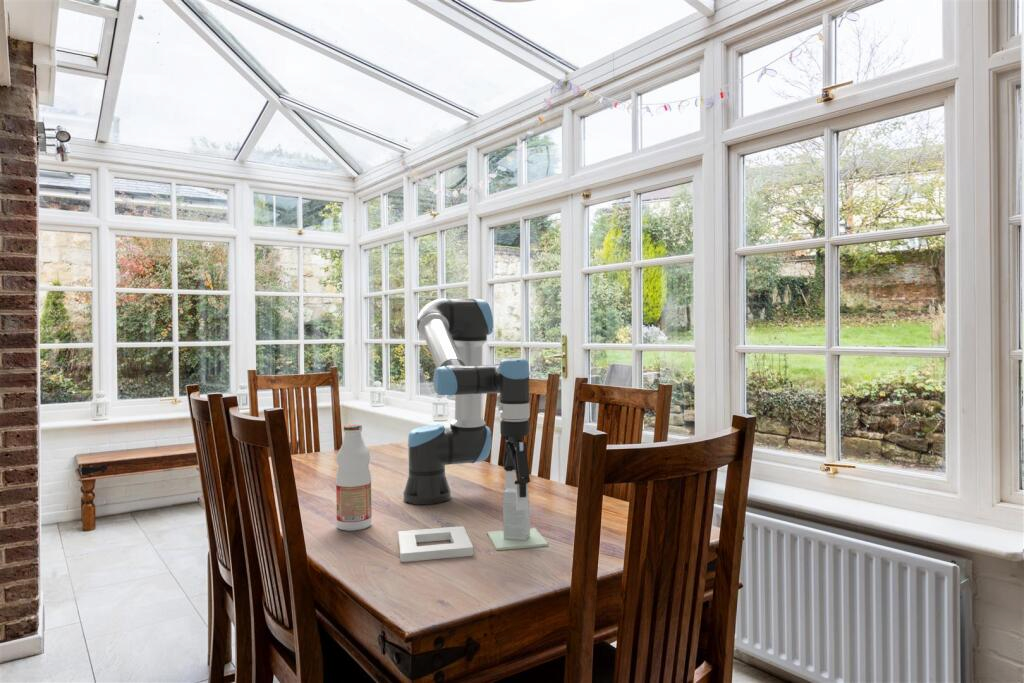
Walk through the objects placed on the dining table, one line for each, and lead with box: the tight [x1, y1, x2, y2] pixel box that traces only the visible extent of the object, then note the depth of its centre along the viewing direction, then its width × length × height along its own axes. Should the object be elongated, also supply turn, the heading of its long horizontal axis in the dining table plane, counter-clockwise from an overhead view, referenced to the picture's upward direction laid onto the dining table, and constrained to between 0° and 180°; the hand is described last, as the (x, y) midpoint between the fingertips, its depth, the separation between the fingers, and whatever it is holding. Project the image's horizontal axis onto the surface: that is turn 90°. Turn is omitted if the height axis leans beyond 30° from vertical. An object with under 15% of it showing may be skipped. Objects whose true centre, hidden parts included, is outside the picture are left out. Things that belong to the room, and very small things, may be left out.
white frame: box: [397, 525, 474, 563], centre depth 152 cm, size 17×17×2 cm
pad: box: [486, 527, 549, 551], centre depth 157 cm, size 13×13×1 cm
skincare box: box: [502, 488, 531, 540], centre depth 157 cm, size 6×4×12 cm
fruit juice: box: [335, 424, 373, 532], centre depth 170 cm, size 9×9×28 cm
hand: (515, 502), depth 157 cm, fingers open, 13 cm apart
